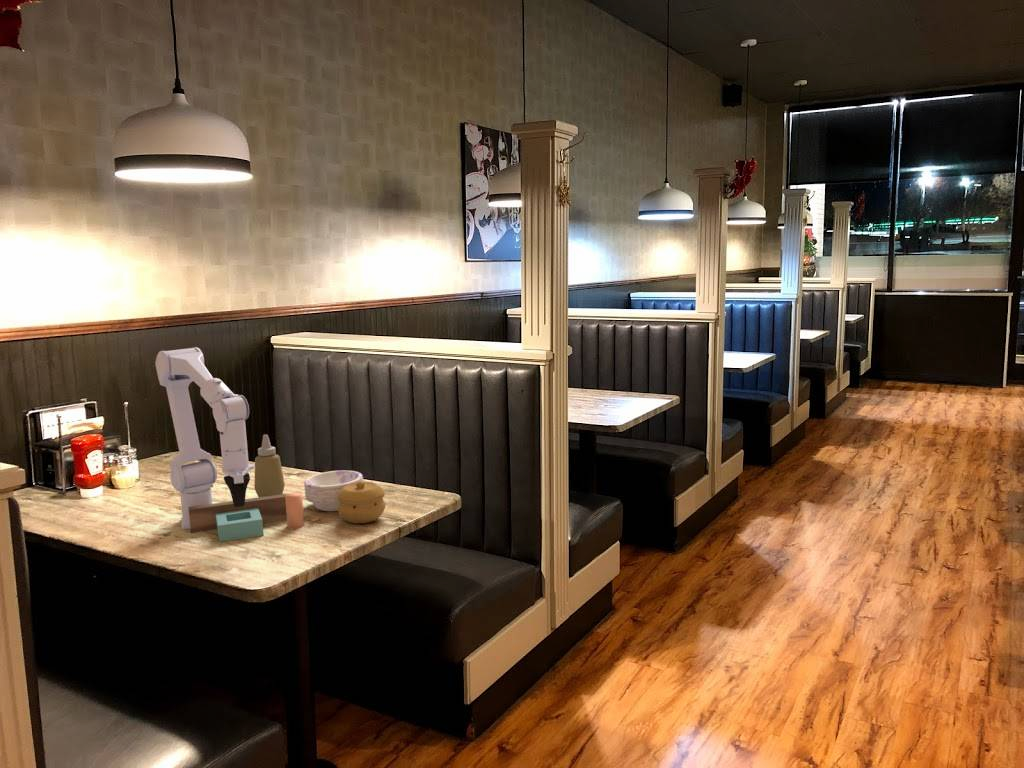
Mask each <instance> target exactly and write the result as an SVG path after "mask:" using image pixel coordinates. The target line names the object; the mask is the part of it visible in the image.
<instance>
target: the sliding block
mask: <svg viewBox="0 0 1024 768" xmlns="http://www.w3.org/2000/svg"><path fill="white" fill-rule="evenodd" d="M216 523H217V529H216V530H217V537H218V541H219V543H221V542H229V541H235V540H241V539H243V540H244V539H248V538H249V539H250V538H255V537H262V536H264V526H263V523H264V522H262V517H261V514H260V512H259V509H258V508H253V509H246V510H239V511H231V512H224V513H217V514H216Z"/></svg>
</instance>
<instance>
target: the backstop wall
mask: <svg viewBox="0 0 1024 768" xmlns="http://www.w3.org/2000/svg"><path fill="white" fill-rule="evenodd" d="M286 494H287V493H283V494H281V495H274V496H266V497H251V498H245V504H244V506H241V507H235V506H234V504H233V500H230V501H223V502H222V501H221V502H217V503H216V502H215V503H212V504H207V505H200V506H192V507H188V508H189V519H190V529H189V530H190V534H194V533H200V531H202V532H208V530H209V531H214V530H213V529H215V530H217V523H216V514H217V513H224V512H231V511H239V510H246V509H253V508H258V509H259V512H260V514H261V517H262V522H263V523H270V522H275V521H276V522H277V521H284V520H287V515H286V499H285V495H286Z"/></svg>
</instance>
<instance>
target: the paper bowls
mask: <svg viewBox="0 0 1024 768" xmlns="http://www.w3.org/2000/svg"><path fill="white" fill-rule="evenodd" d="M359 481H362V482H364V476H363V473H361V472H359V471H355V470H343V469H342V470H331V471H324V472H320V473H317V474H313V475H310V476H309V477H307V478H306V479H305V480H304V482H303V484H304V485H303V487H304V496H305V500H306V501H307V502H310V503H313V505H314V507H315V508H316V509H318V510H320V511H323V512H339V511H338V506H339V504H340V501H338V499H337V498H338V496H337V495H338V493H339V492H340V490H341V489H342V488H343V487H345V486H347V485H349V484H353V483H357V482H359Z"/></svg>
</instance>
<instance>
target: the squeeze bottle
mask: <svg viewBox="0 0 1024 768" xmlns="http://www.w3.org/2000/svg"><path fill="white" fill-rule="evenodd" d="M270 441H271V440H270V437H269V435H268V434H263V435H262V441H261V447H259V448H257V456H256V457H255V458H254V483H253V486H254V490H255V492H256V495H257V498H259V497H266V496H274V495H281V494H284V489H285V486H286V484H285V480H284V479H285V478H284V473H283V469H282V462H281V456H280V455H278V454H277V453H276V452H277V451H276V450H277V449H276V447H275V446H272V445H271V442H270Z"/></svg>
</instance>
